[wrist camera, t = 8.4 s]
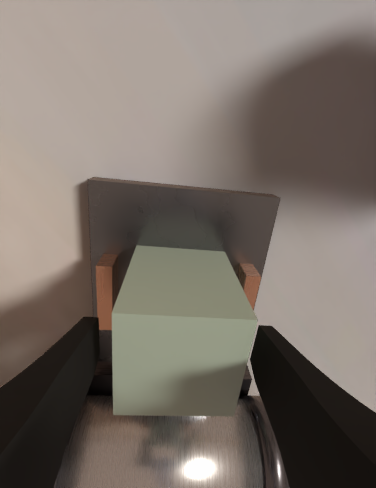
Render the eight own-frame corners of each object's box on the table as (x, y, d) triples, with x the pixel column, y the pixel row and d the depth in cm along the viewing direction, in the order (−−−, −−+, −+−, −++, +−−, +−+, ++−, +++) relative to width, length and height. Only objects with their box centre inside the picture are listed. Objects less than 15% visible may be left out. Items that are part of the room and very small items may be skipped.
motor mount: (240, 419, 21) (272, 550, 14) (81, 417, 20) (33, 558, 13) (300, 197, 14) (416, 245, 7) (62, 174, 13) (-59, 206, 6)
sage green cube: (209, 341, 17) (227, 440, 11) (134, 338, 16) (113, 440, 11) (224, 251, 14) (257, 320, 9) (136, 245, 14) (111, 313, 8)
